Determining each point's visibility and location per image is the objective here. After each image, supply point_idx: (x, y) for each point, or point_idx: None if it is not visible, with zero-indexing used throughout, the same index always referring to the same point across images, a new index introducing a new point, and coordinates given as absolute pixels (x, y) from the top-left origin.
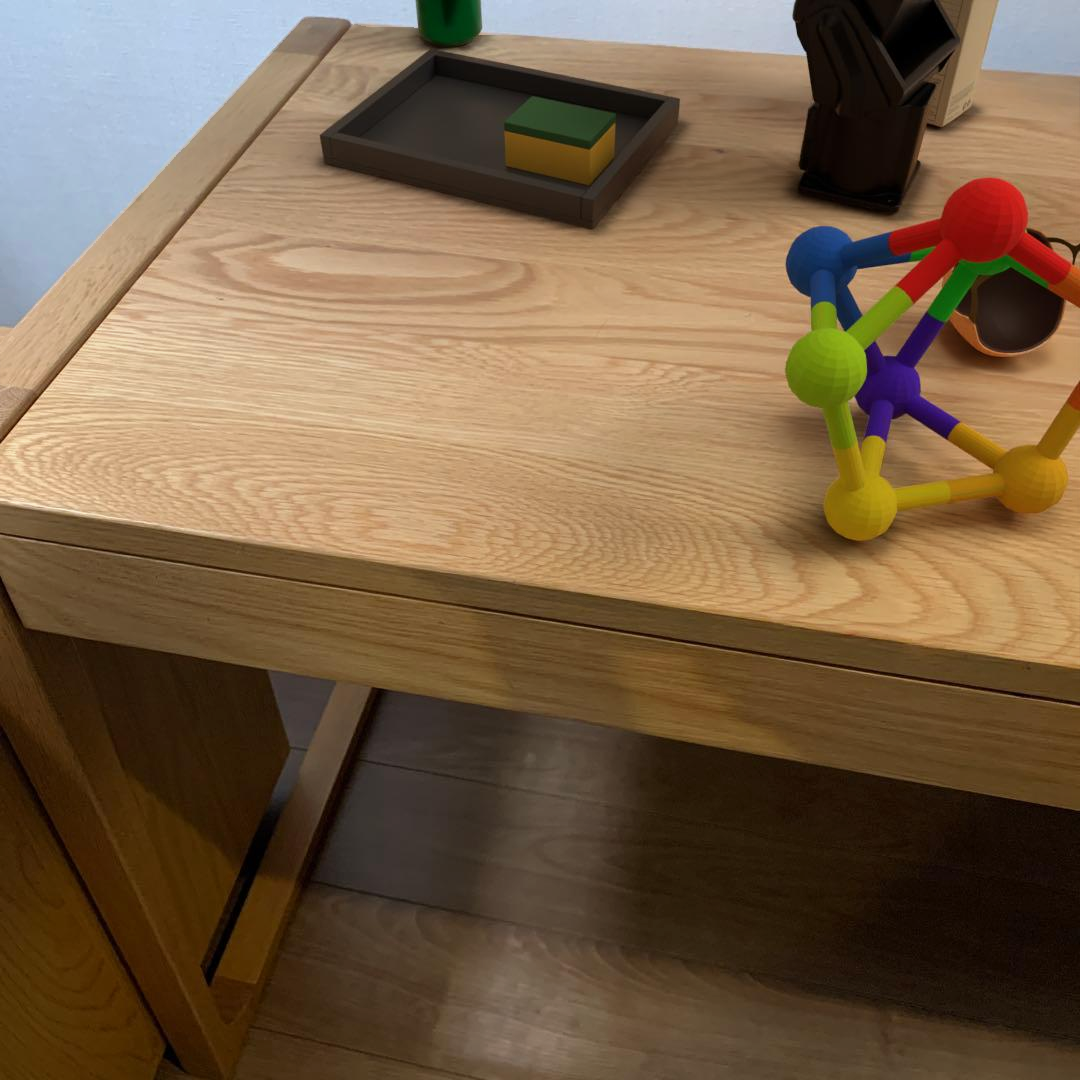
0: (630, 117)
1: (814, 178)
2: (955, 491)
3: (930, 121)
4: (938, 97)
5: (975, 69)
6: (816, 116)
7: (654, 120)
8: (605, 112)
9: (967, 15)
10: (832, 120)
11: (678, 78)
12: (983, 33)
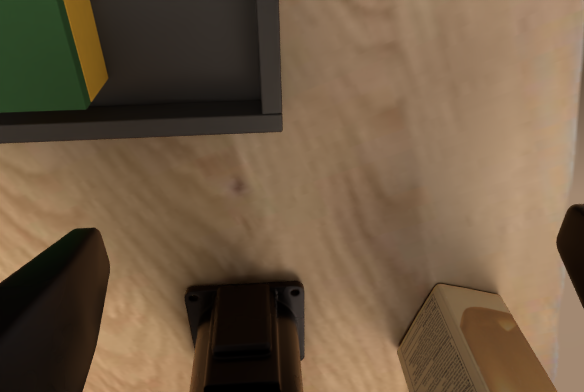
0: (250, 42)
1: (210, 301)
2: None
3: (401, 345)
4: (408, 370)
5: None
6: (209, 351)
7: (185, 127)
8: (76, 91)
9: None
10: (201, 370)
11: (452, 43)
12: None
